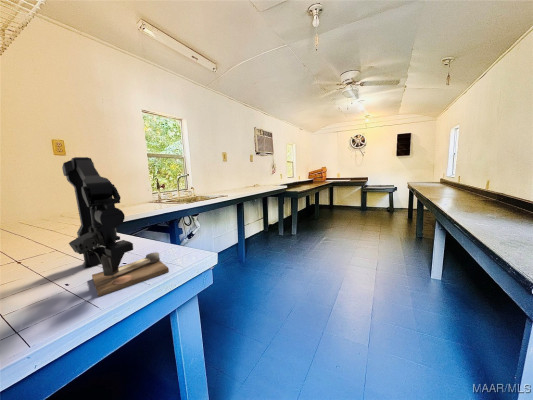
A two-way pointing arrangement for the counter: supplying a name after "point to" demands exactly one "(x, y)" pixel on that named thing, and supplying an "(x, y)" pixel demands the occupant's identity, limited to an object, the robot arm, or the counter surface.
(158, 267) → the board
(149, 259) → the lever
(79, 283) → the counter surface
